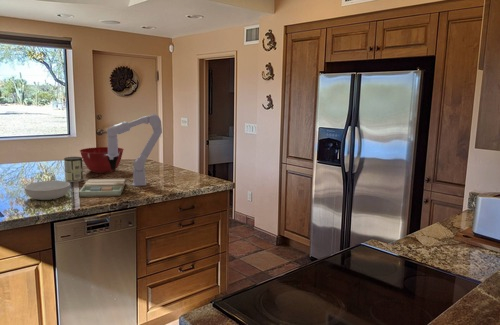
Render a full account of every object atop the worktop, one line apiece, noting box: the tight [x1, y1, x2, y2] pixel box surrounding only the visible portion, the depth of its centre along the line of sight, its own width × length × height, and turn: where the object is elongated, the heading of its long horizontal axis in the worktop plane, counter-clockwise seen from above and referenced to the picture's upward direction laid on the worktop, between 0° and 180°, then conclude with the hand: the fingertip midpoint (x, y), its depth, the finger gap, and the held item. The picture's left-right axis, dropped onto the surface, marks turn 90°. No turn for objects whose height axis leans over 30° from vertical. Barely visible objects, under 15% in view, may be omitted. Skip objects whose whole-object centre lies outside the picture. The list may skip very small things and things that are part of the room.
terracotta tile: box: [102, 187, 113, 191], centre depth 213 cm, size 5×5×2 cm
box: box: [78, 186, 124, 198], centre depth 212 cm, size 13×21×3 cm, turn 103°
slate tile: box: [90, 187, 101, 191], centre depth 212 cm, size 5×5×2 cm
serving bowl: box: [23, 180, 71, 201], centre depth 199 cm, size 21×21×7 cm
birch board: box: [82, 178, 126, 189], centre depth 226 cm, size 16×21×3 cm
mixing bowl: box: [79, 146, 125, 174], centre depth 267 cm, size 28×28×16 cm
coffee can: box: [63, 156, 84, 183], centre depth 239 cm, size 10×10×14 cm
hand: (113, 169), depth 230 cm, fingers closed
